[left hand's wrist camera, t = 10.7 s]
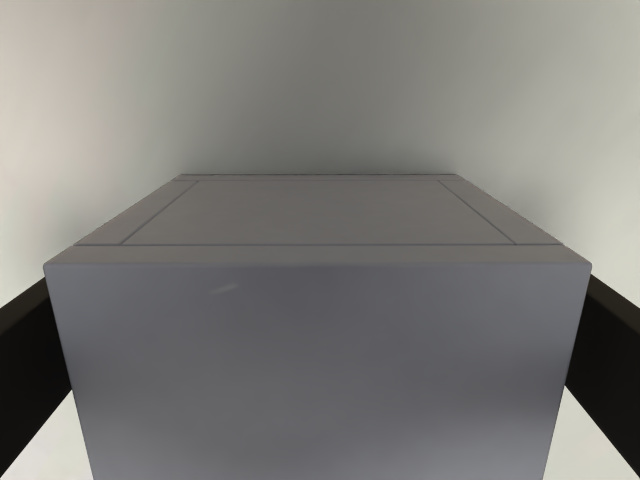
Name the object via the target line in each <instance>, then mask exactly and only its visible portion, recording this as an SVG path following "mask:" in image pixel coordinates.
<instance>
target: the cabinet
mask: <svg viewBox="0 0 640 480" xmlns="http://www.w3.org/2000/svg"><path fill="white" fill-rule="evenodd" d="M43 270H44V274H45V278H46V283H47V287H48V291H49V295H50V299H51V303H52V308H53V312H54V316H55V320H56V324H57V328H58V333H59V337H60V341H61V345H62V349H63V354H64V358H65V362H66V366H67V370H68V374H69V379H70V383H71V387H72V391H73V395H74V399H75V404H76V408H77V412H78V416H79V420H80V425H81V429H82V433H83V437H84V441H85V445H86V450H87V454H88V458H89V462H90V466H91V470H92V475H93V479H94V480H543V475H544V471H545V467H546V462H547V458H548V454H549V450H550V445H551V441H552V437H553V432H554V428H555V424H556V420H557V415H558V411H559V407H560V402H561V398H562V394H563V390H564V385H565V381H566V377H567V372H568V368H569V364H570V360H571V355H572V351H573V347H574V342H575V338H576V334H577V330H578V325H579V321H580V317H581V312H582V308H583V304H584V300H585V295H586V291H587V287H588V282H589V278H590V274H591V270H592V264H591V262H589V261H588V260H586V259H585V258H583V257H582V256H580V255H579V254H577V253H576V252H574V251H573V250H571V249H570V248H568V247H566V246H564V244H563V243H562V242H560V241H558V240H557V239H555V238H554V237H552V236H551V235H549V234H548V233H546V232H545V231H543V230H542V229H540V228H539V227H537V226H536V225H534V224H532V223H531V222H529V221H528V220H526V219H525V218H523V217H522V216H520V215H519V214H517V213H516V212H514V211H513V210H511V209H510V208H508V207H506V206H505V205H503V204H502V203H500V202H499V201H497V200H496V199H494V198H493V197H491V196H490V195H488V194H487V193H485V192H484V191H482V190H480V189H479V188H477V187H476V186H474V185H473V184H471V183H470V182H468V181H466V180H464V179H463V178H461V177H460V176H458V175H179V176H177V177H176V178H174V179H173V180H171V181H170V182H168V183H167V184H165V185H164V186H162V187H160V188H159V189H157V190H156V191H154V192H153V193H151V194H150V195H148V196H147V197H145V198H144V199H142V200H141V201H139V202H138V203H136V204H135V205H133V206H131V207H130V208H128V209H127V210H125V211H124V212H122V213H121V214H119V215H118V216H116V217H115V218H113V219H112V220H110V221H109V222H107V223H106V224H104V225H102V226H101V227H99V228H98V229H96V230H95V231H93V232H92V233H90V234H89V235H87V236H86V237H84V238H83V239H81V240H80V241H78V242H77V243H75V244H74V245H73V246H71V247H69V248H67V249H66V250H64V251H63V252H61V253H60V254H58V255H56V256H55V257H53V258H52V259H50V260H49V261H47V262H46V263H44V265H43Z"/></svg>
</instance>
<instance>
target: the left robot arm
mask: <svg viewBox="0 0 640 480" xmlns="http://www.w3.org/2000/svg"><path fill="white" fill-rule="evenodd" d="M565 386H566V387H567V389H568V390H569V391H570V392H571V393H572V395H573V396H574V397H575V398H576V400H577V401H578V402H579V403H580V405H581V406H582V407H583V408H584V410H585V411H586V412H587V413H588V415H589V416H590V417H591V418H592V419H593V421H594V422H595V423H596V424H597V426H598V427H599V428H600V429H601V431H602V432H603V433H604V434H605V436H606V437H607V438H608V439H609V441H610V442H611V443H612V444H613V445H614V447H615V448H616V449H617V450H618V452H619V453H620V454H621V455H622V457H623V458H624V459H625V460H626V462H627V463H628V464H629V465H630V467H631V468H632V469H633V470H634V471H635V473H636V474H637V475H638V476H639V478H640V308H638V307H637V306H636V305H634V304H633V303H631V302H630V301H629V300H627V299H626V298H624V297H623V296H621V295H620V294H619V293H617V292H616V291H614V290H613V289H612V288H610V287H609V286H607V285H606V284H605V283H603V282H602V281H600V280H599V279H597V278H596V277H595V276H593V275H592V274H590V278H589V282H588V287H587V291H586V295H585V300H584V304H583V308H582V312H581V317H580V321H579V325H578V330H577V334H576V338H575V342H574V347H573V351H572V355H571V360H570V364H569V368H568V372H567V377H566V381H565ZM71 390H72V387H71V383H70V379H69V374H68V370H67V366H66V362H65V358H64V354H63V349H62V345H61V341H60V337H59V333H58V328H57V324H56V320H55V316H54V312H53V308H52V303H51V299H50V295H49V291H48V287H47V283H46V278H45V277H44V278H43V279H41V280H40V281H38V282H37V283H35V284H34V285H33V286H31V287H30V288H28V289H27V290H26V291H24V292H23V293H21V294H20V295H19V296H17V297H16V298H14V299H13V300H11V301H10V302H9V303H7V304H6V305H4V306H3V307H2V308H0V478H1V476H2V475H3V474H4V473H5V471H6V470H7V469H8V468H9V467H10V465H11V464H12V463H13V462H14V460H15V459H16V458H17V457H18V455H19V454H20V453H21V452H22V450H23V449H24V448H25V447H26V445H27V444H28V443H29V442H30V441H31V439H32V438H33V437H34V436H35V434H36V433H37V432H38V431H39V429H40V428H41V427H42V426H43V424H44V423H45V422H46V421H47V419H48V418H49V417H50V416H51V415H52V413H53V412H54V411H55V410H56V408H57V407H58V406H59V405H60V403H61V402H62V401H63V400H64V398H65V397H66V396H67V395H68V393H69V392H70V391H71Z"/></svg>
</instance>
